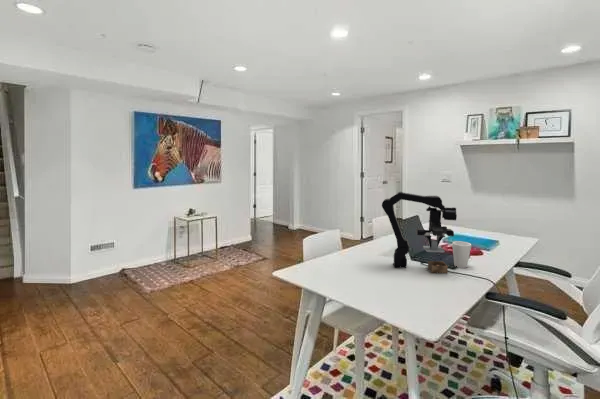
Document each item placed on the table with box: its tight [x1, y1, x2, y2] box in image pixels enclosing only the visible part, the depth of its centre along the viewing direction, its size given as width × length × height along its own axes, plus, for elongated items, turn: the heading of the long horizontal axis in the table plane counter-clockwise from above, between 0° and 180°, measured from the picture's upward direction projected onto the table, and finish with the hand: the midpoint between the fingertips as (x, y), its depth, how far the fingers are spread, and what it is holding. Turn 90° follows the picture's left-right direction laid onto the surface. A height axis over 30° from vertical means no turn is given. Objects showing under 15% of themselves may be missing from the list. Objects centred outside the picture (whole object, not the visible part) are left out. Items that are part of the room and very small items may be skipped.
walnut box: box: [427, 260, 449, 275], centre depth 181 cm, size 8×8×4 cm
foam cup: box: [451, 240, 472, 269], centre depth 188 cm, size 10×9×13 cm
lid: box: [422, 239, 446, 253], centre depth 182 cm, size 9×9×5 cm
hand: (433, 247), depth 182 cm, fingers closed on lid, 3 cm apart
